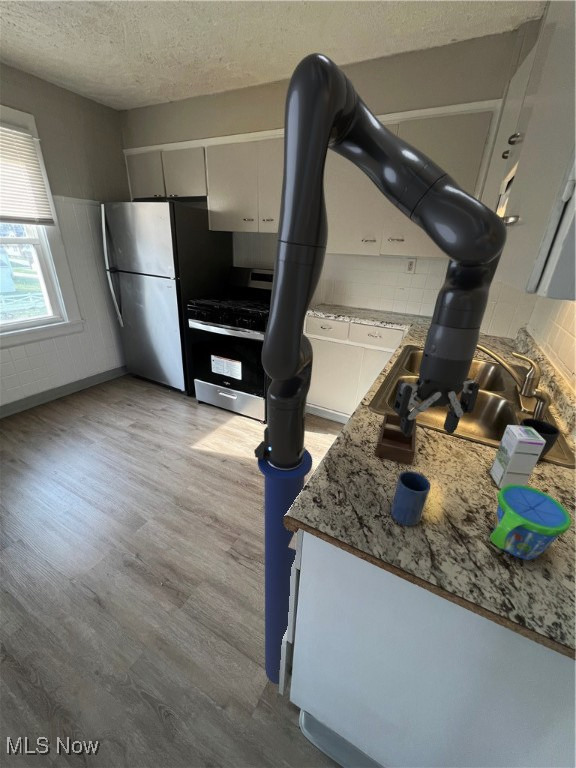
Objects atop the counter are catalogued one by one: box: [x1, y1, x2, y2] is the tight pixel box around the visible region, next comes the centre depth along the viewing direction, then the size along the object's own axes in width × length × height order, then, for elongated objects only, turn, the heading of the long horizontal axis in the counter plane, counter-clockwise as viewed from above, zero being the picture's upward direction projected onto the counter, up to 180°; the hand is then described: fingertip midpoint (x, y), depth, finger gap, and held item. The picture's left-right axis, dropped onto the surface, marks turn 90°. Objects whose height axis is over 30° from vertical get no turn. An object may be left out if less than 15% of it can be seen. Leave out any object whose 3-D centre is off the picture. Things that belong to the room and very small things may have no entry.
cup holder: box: [375, 412, 417, 466], centre depth 88 cm, size 9×17×4 cm, turn 158°
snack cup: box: [489, 484, 572, 561], centre depth 58 cm, size 16×10×10 cm
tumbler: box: [390, 470, 431, 527], centre depth 64 cm, size 6×6×9 cm
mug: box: [503, 417, 561, 463], centre depth 84 cm, size 8×12×10 cm
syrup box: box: [489, 424, 546, 490], centre depth 73 cm, size 6×6×14 cm
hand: (427, 432), depth 58 cm, fingers open, 8 cm apart
